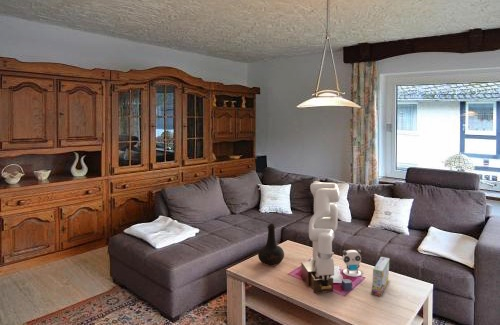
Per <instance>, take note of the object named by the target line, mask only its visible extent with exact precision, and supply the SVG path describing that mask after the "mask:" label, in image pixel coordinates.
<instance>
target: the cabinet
mask: <svg viewBox="0 0 500 325" xmlns="http://www.w3.org/2000/svg"><path fill="white" fill-rule="evenodd" d="M315 262H316V261H310V260H305V261H301V262H300V266H301V267H300V270H301V271H300V273H301V274H300V276H301V278H302V279H303V281H304V283H305V284H306V286H307V287H308V288H312V287H311V285H310V273H315Z"/></svg>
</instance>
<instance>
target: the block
mask: <svg viewBox="0 0 500 325" xmlns="http://www.w3.org/2000/svg"><path fill="white" fill-rule="evenodd" d="M341 288H342V289H343V290H344V291H352V290H353V281H352V280H351V279H349V278H344V279H341Z"/></svg>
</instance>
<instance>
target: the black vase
mask: <svg viewBox="0 0 500 325" xmlns="http://www.w3.org/2000/svg"><path fill="white" fill-rule="evenodd" d="M276 228H277V227H276V225H275V224H274V223H268V225H267V238H266V239H267V240H266V243H265V244H264V245H263V246H261V247H260V248H259V250H258V252H257V257H258V260H259V261H260V262H261V263H262V264H263V265H265V266H270V267H273V266H278V265H280V263H282V261H283V260H284V258H285V252H284V249H283V248H282V247H281V246H280V245H277V241H276V231H275V230H276Z"/></svg>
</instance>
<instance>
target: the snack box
mask: <svg viewBox="0 0 500 325" xmlns="http://www.w3.org/2000/svg"><path fill="white" fill-rule="evenodd" d="M390 260H391V259H390V257H385V256H380V258H379V260H378V261H377V262H376V263H375V266H374V267H373V269H372V286H371V294H372V295H375V296H379V297H381V296H382V295H383V292H384V290H385V288H386V286H387V284H388V283H389V272H390Z"/></svg>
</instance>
